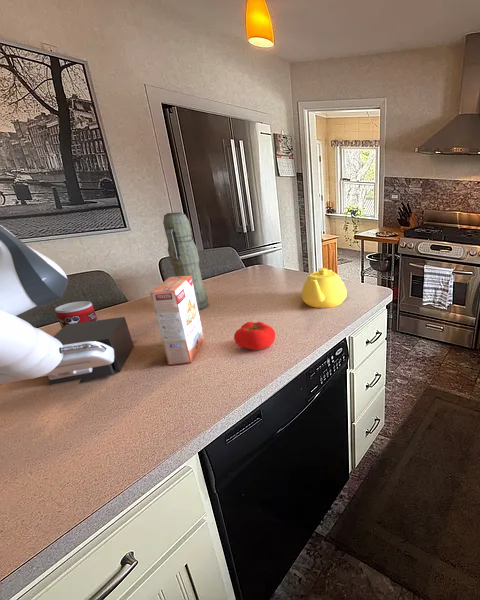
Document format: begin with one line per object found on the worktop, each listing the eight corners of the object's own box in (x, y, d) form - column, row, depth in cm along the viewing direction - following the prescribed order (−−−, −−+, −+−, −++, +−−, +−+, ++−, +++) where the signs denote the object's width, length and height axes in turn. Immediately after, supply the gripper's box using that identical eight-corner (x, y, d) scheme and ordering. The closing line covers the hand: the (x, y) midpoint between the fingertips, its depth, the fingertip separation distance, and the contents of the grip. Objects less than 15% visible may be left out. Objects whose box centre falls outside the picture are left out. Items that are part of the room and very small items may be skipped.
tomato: (259, 356, 91) (256, 336, 89) (229, 349, 95) (225, 329, 93) (282, 341, 100) (280, 322, 98) (254, 335, 103) (251, 316, 101)
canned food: (62, 342, 97) (48, 308, 94) (93, 331, 104) (82, 299, 100) (76, 347, 95) (63, 312, 91) (108, 335, 102) (97, 303, 98)
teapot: (338, 315, 119) (336, 280, 114) (291, 313, 120) (287, 278, 115) (352, 292, 142) (350, 262, 137) (312, 291, 143) (309, 261, 138)
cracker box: (193, 363, 88) (175, 290, 80) (167, 366, 86) (147, 292, 79) (206, 339, 100) (191, 274, 93) (184, 342, 99) (167, 276, 91)
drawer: (107, 384, 77) (97, 355, 74) (42, 397, 72) (28, 367, 70) (127, 350, 92) (119, 325, 89) (74, 359, 87) (64, 333, 84)
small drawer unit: (120, 371, 84) (108, 338, 80) (54, 384, 78) (39, 349, 75) (134, 346, 96) (124, 316, 92) (78, 355, 91) (66, 324, 87)
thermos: (213, 300, 131) (195, 211, 118) (202, 312, 120) (180, 215, 107) (189, 302, 129) (168, 211, 117) (176, 313, 118) (151, 215, 106)
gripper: (99, 329, 67) (125, 349, 78) (-47, 349, 58) (7, 368, 70) (98, 358, 65) (125, 374, 76) (-53, 384, 56) (3, 397, 68)
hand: (68, 371), depth 73 cm, fingers closed, pressing on drawer
